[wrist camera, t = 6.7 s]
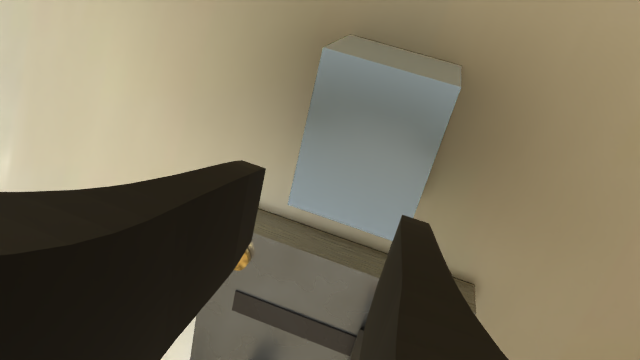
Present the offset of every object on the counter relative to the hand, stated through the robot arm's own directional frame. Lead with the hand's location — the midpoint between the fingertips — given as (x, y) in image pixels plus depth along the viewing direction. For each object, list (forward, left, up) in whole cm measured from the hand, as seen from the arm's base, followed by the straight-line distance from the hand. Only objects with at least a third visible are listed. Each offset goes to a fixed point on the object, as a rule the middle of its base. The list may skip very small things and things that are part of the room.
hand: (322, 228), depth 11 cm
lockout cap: (0, 0, -9) cm, 9 cm away
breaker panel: (0, +13, -9) cm, 16 cm away
